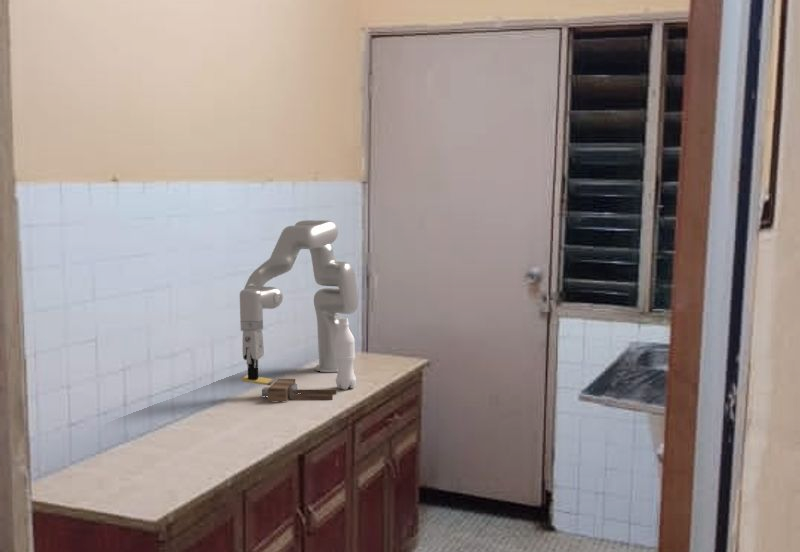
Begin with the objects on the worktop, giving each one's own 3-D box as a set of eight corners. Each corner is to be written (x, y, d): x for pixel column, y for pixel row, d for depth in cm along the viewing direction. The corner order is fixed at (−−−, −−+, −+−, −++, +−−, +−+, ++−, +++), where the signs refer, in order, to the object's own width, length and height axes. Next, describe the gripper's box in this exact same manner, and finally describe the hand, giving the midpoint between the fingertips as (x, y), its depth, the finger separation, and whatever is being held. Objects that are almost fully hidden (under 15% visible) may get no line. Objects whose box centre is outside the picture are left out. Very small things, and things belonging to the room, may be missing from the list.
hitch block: (278, 391, 298) (278, 378, 298) (338, 391, 296) (337, 378, 296) (268, 402, 285) (267, 388, 284) (330, 402, 282) (330, 388, 282)
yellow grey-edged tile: (246, 377, 295) (246, 374, 295) (275, 381, 294) (275, 378, 294) (241, 381, 289) (241, 378, 289) (270, 385, 288) (270, 382, 288)
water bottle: (357, 385, 304) (355, 316, 301) (354, 390, 297) (352, 319, 294) (338, 385, 305) (335, 316, 302) (334, 390, 298) (331, 319, 295)
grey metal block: (260, 399, 289) (260, 387, 289) (266, 394, 295) (265, 383, 295) (292, 399, 288) (292, 387, 287) (297, 395, 293) (297, 383, 293)
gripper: (256, 328, 281) (257, 383, 283) (268, 322, 296) (269, 374, 298) (234, 328, 282) (235, 383, 284) (247, 322, 297) (248, 374, 298)
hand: (253, 378), depth 291 cm, fingers closed
